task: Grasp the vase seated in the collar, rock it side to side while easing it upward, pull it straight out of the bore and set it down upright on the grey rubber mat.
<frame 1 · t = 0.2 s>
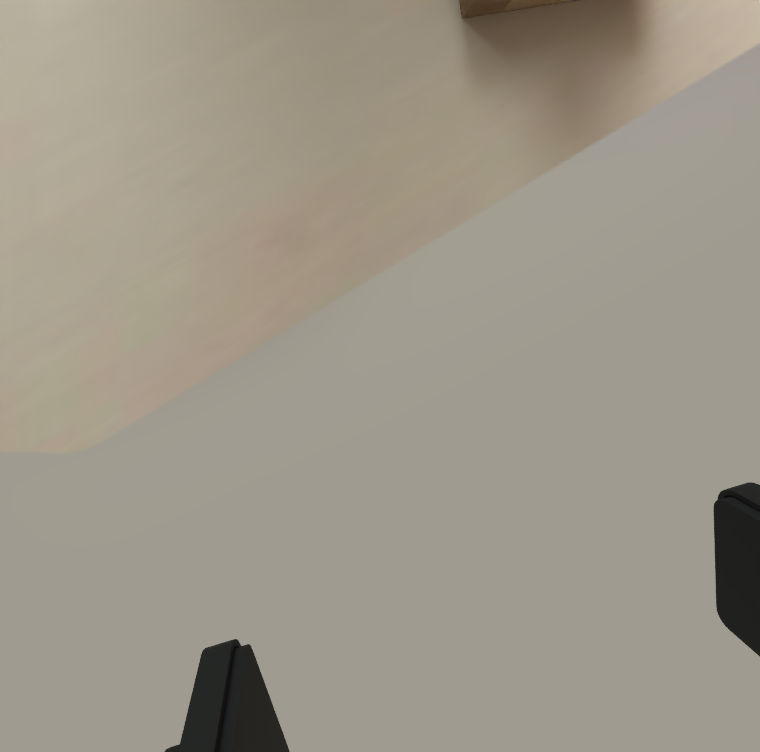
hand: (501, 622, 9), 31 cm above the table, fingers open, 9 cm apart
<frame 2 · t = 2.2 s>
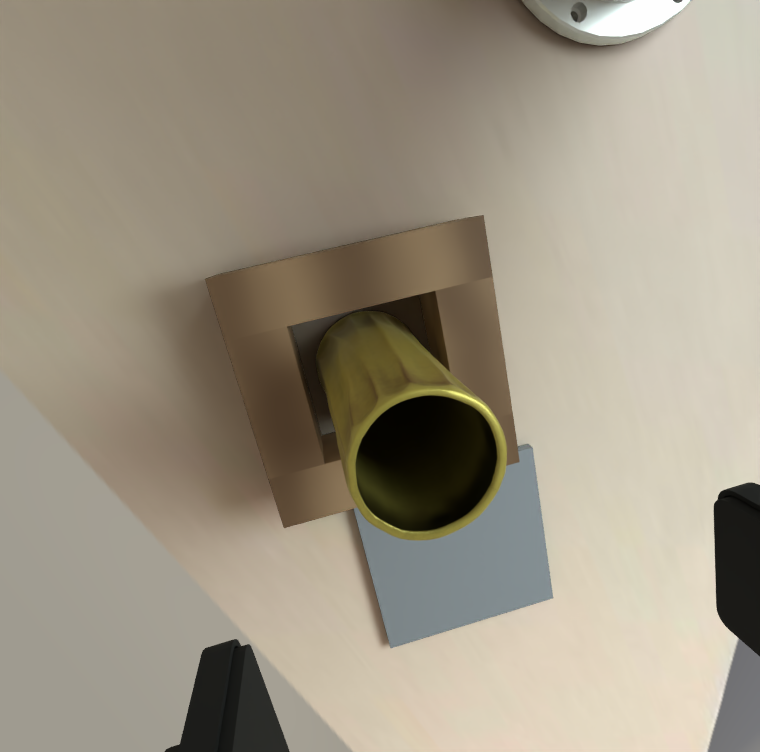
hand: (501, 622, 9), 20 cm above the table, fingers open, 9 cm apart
vase: (367, 361, 29), resting in collar
collar: (368, 361, 29), on the table
mat: (456, 546, 33), on the table
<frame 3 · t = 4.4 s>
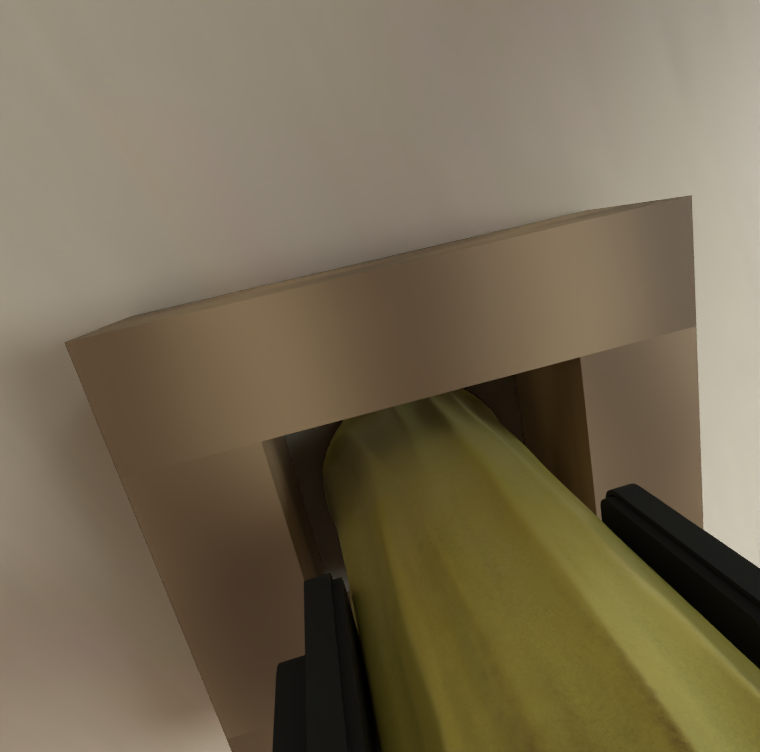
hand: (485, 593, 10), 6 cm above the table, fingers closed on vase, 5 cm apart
vase: (415, 466, 16), resting in collar, touching gripper
collar: (416, 469, 16), on the table
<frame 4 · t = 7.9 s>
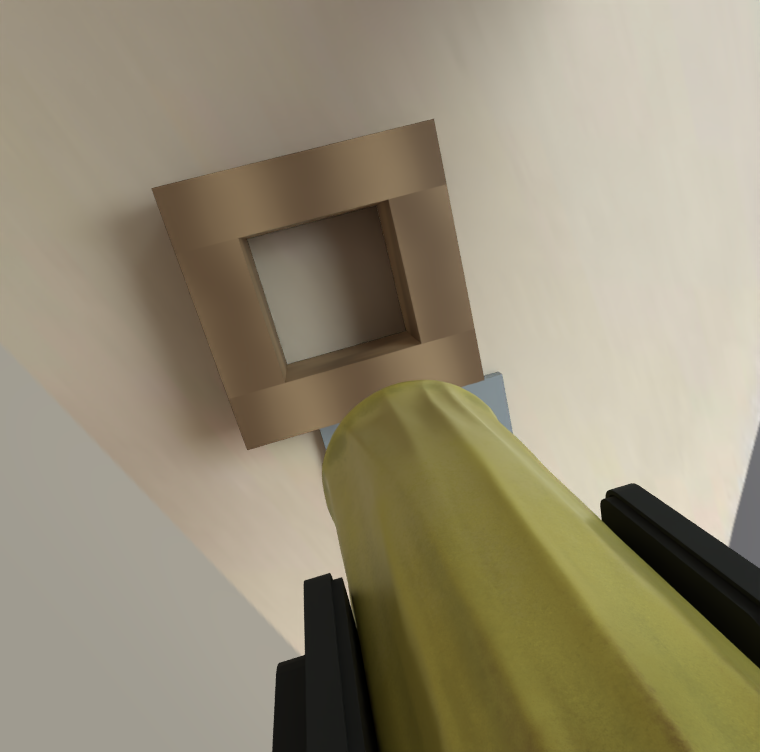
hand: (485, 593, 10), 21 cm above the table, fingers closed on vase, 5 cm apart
vase: (414, 466, 16), point 15 cm above the table, touching gripper
collar: (330, 287, 28), on the table
mat: (430, 478, 33), on the table
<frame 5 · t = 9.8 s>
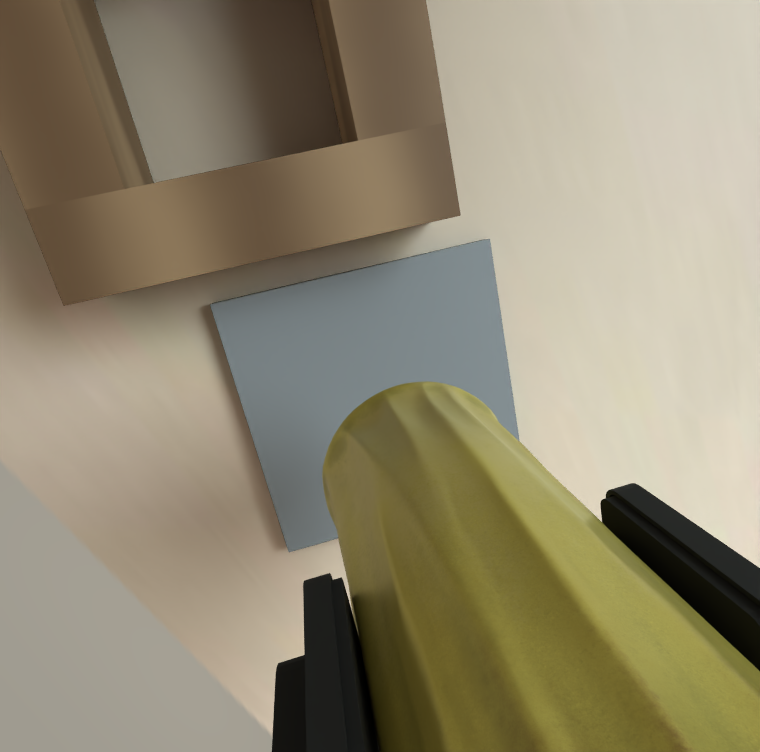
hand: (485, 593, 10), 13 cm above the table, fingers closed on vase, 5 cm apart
vase: (414, 467, 16), point 7 cm above the table, touching gripper
collar: (226, 76, 18), on the table
mat: (382, 399, 23), on the table
when the fingers open (8 cm above the table, at t = 11.6 s): vase drops 1 cm, resting on mat.
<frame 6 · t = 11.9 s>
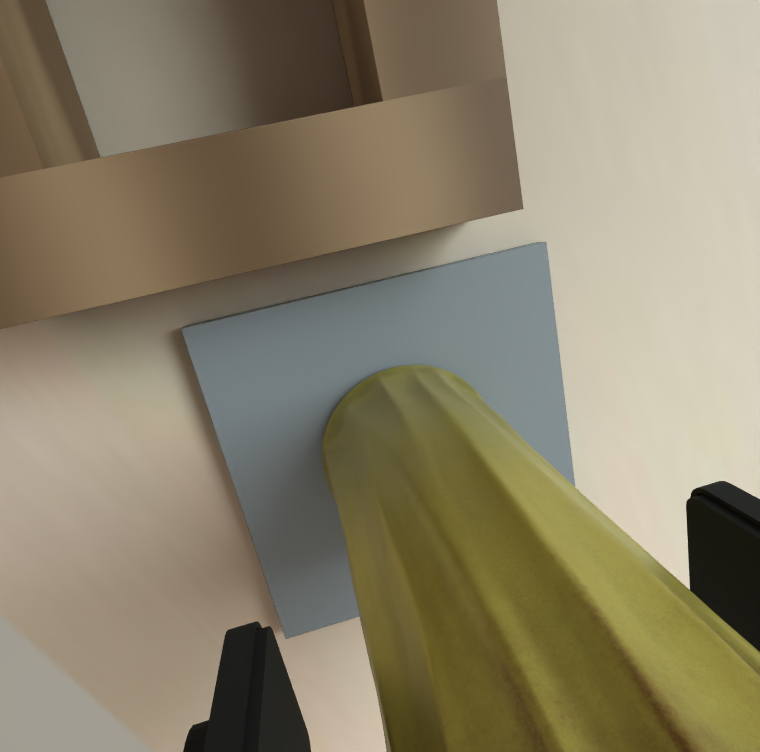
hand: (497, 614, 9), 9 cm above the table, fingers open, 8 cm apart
vase: (407, 445, 17), resting on mat
collar: (200, 22, 14), on the table
mat: (404, 446, 18), on the table
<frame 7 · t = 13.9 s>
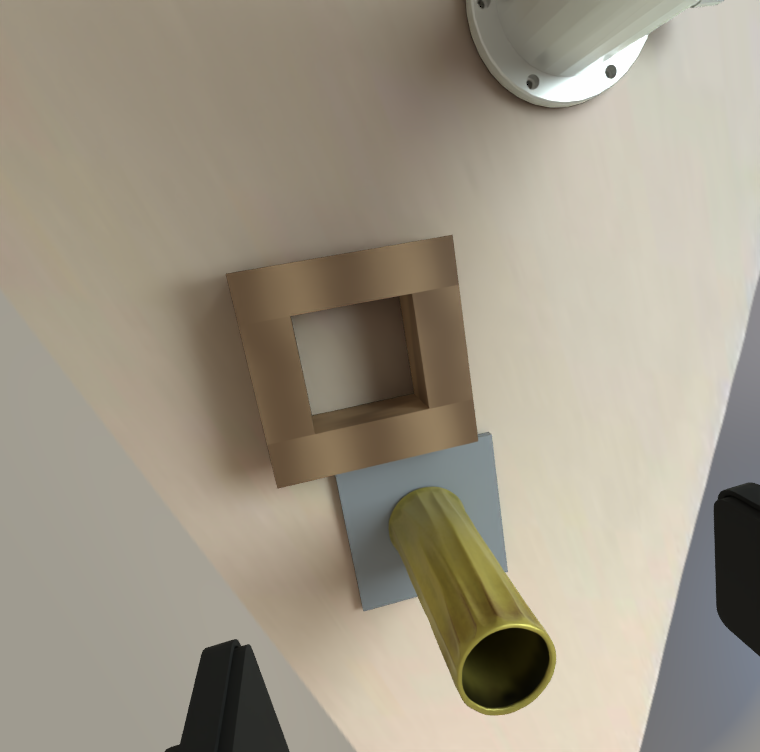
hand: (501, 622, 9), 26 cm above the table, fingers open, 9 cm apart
vase: (426, 521, 37), resting on mat
collar: (354, 353, 34), on the table
mat: (424, 520, 38), on the table
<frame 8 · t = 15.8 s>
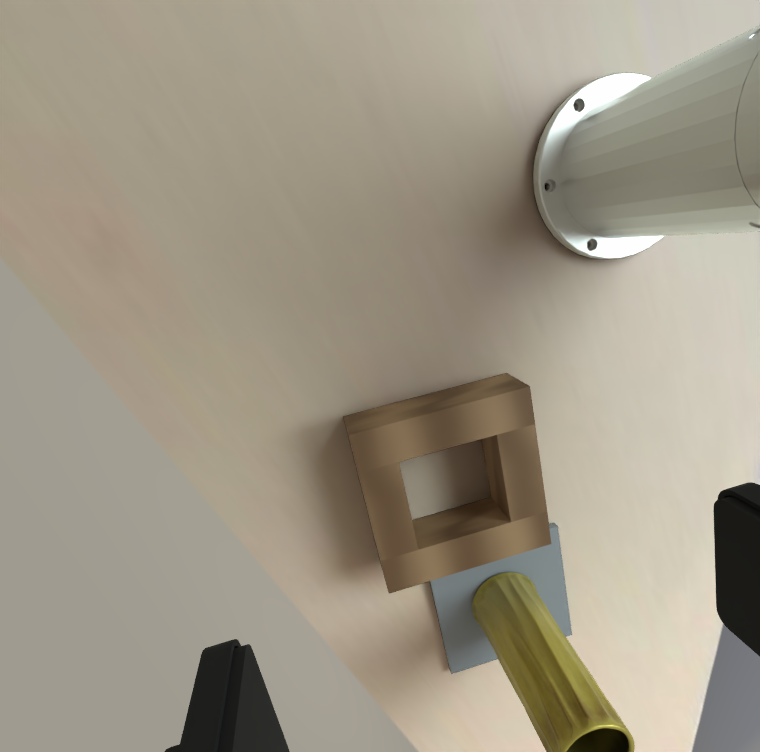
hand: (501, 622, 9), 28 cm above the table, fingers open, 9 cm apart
vase: (502, 598, 44), resting on mat
collar: (441, 470, 40), on the table
mat: (500, 597, 44), on the table
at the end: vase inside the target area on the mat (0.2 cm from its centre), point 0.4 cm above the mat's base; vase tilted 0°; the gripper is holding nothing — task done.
